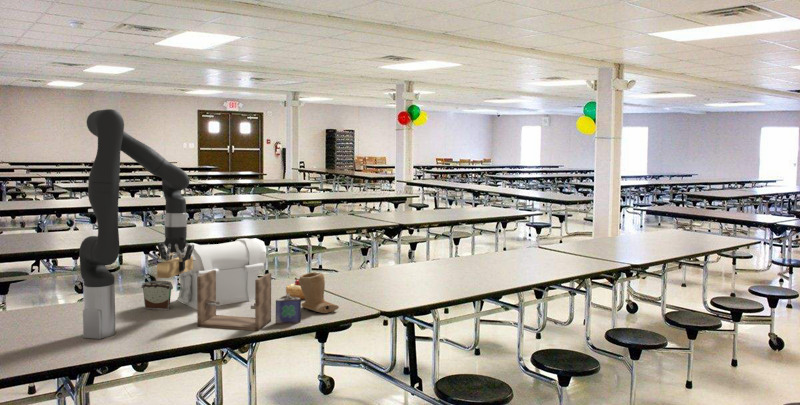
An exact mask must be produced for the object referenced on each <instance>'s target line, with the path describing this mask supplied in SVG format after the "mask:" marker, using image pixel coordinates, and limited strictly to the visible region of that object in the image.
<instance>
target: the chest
mask: <svg viewBox="0 0 800 405" xmlns="http://www.w3.org/2000/svg"><path fill="white" fill-rule="evenodd" d="M187 243H188V242H187ZM188 244H191V245H192V244H193V245H194V249H193V252H192V255H191V256H193V269H192V270H189V271H187V272H184V273H181V274H178V275H179V282H180V288H179V292H178V296H177V299H176V301H177V302H179V303H182V304H184V305H186V306H188V307H190V308H192V309H195V310H197V276H200V275H202V274H205V273H207V272H209V271H212V270H216V301H220V304H216V307H218V306H223V305H229V304H237V303H241V302H254V301H255V280H256V279H258V278H259V277H258V276H260V274H261V271H263V270H264V269H265V264H266V263H267V249H266V246H265V243H264V241H263V240H261V239H259V238H237V239H236V240H235V241H229V242H223V243H218V244H217V243H216V244H215V243H213V244H198V243H194V242H190V243H188ZM184 250H185V254H186V251H187V249H186V247H185V248H184ZM178 257H179V256H178V255H177V253H176V252H174V254H173V257H172V259H174V258H178Z"/></svg>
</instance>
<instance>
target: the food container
mask: <svg viewBox="0 0 800 405" xmlns="http://www.w3.org/2000/svg"><path fill="white" fill-rule="evenodd" d="M140 288H141V289H142V291H143V292H142V293H143V302H144V308H145V309H148V310H149V309H153V310H166V311H167V310H169V309H170V306H171V297H172V296H171V295H172V290H173V289H174V286H173V283H172V282H171V281H169V280H151V281H150V280H149V281H145V282H142V284H141V287H140Z"/></svg>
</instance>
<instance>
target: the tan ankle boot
mask: <svg viewBox="0 0 800 405" xmlns="http://www.w3.org/2000/svg"><path fill="white" fill-rule="evenodd" d="M298 279H299V283H300V287H301V289H302V291H303V294H304V296H305V299H304V300H305V301H304V302H301V308H305V309H307V310H310V311H313V312H318V313H322V314H329V313H332V312H335V311H336V310H338V309H339V308H340V307H339V305H337V304H334V303H331V302H329V301H326V300H325V299H324V298H325V288H326V287H325V286H326V285H325V283H326V282H325V276H324V273H322V272H320V271H319V272H316V271H313V272H307V273H304V274H301V275H300V276H299V278H298Z"/></svg>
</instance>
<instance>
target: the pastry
mask: <svg viewBox="0 0 800 405" xmlns="http://www.w3.org/2000/svg"><path fill="white" fill-rule="evenodd" d="M285 293H286V294H290V296H291V297H294V298H295V297H297V298H300V299H301V300H305V296H304V294H303V291H302V289H301V287H300V283H299V278H298V279H296V280H295V281H294V283H290V284H288V285H287V286H286V287H285ZM286 294H285V295H286Z"/></svg>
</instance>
